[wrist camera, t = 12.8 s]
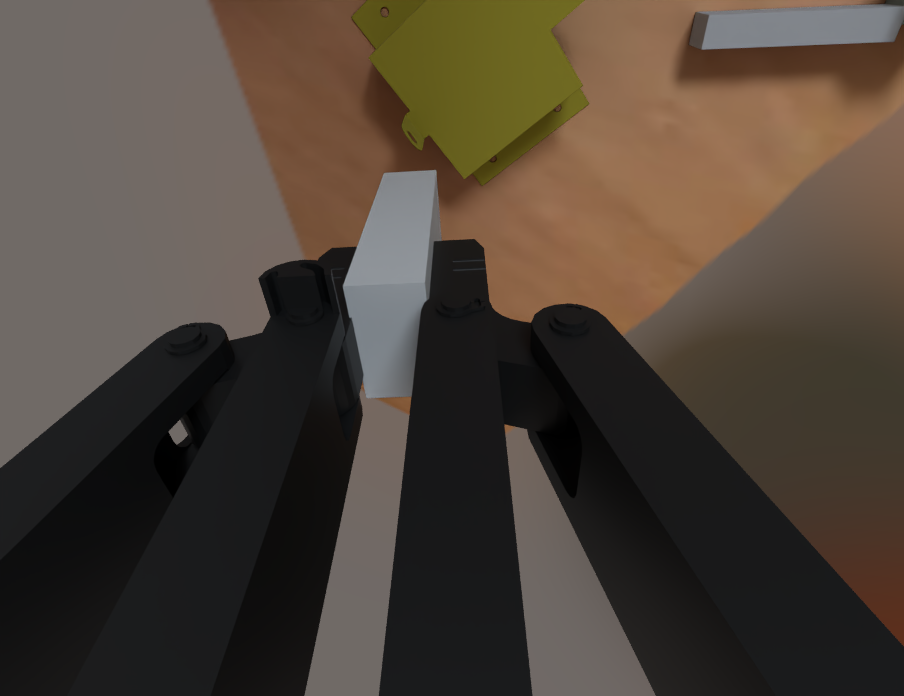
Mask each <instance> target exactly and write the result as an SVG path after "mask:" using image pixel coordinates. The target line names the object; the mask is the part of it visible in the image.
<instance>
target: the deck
mask: <svg viewBox="0 0 904 696" xmlns="http://www.w3.org/2000/svg"><path fill="white" fill-rule="evenodd" d="M901 25H904V0H886V2H885V4H871V5H848V6H825V7H801V8H778V9H755V10H732V11H708V12H696V14H695V18H694V23H693V28H692V32H691V37H690V41H689V45H690V46H693V47H696V48H698V49H701V50H703V49H728V48H752V47H777V46H801V45H826V44H850V43H874V42H894V41H895V39H896V36H897V34H898V32H899V29H900V27H901Z"/></svg>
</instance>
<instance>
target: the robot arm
mask: <svg viewBox="0 0 904 696" xmlns="http://www.w3.org/2000/svg"><path fill="white" fill-rule="evenodd" d="M259 282H260V285H261V288H262V291H263V295H264V298H265V301H266V304H267V307H268V310H269V313H270V316H271V317H270V319H269V321H268V323H267V325H266V327H265V329H264V331H263V332H262V333H259V334H256V335H252V336H248V337H244V338H239V339H235V340H230V341H229V340H228V337H227V334H226V332H225V330H224V329H223V328H222V327H221V326H220V325H217V324H213V323H190V324H189V325H188V324H186V325H182V326H179V327H178V328H176V329H174V330H171V331H169V332H167V333H165V334H164V335H163V336H161V337H159V338H158V339H156V340H155V341H154V342H153V343H151V344H150V345H149V346H148V347H146V348H145V349H144V350H143V351H142V352H140V353H139V354H138V355H137V356H136V357H134V358H133V359H132V360H131V361H130V362H128V363H127V364H126V365H125V366H123V367H122V368H121V369H120V370H119V371H118V372H116V373H115V374H114V375H113V376H111V377H110V378H109V379H108V380H107V381H105V382H104V383H103V384H102V385H100V386H99V387H98V388H97V389H96V390H94V391H93V392H92V393H91V394H90V395H88V396H87V397H86V398H85V399H84V400H82V401H81V402H80V403H79V404H77V405H76V406H75V407H74V408H73V409H71V410H70V411H69V412H68V413H67V414H65V415H64V416H63V417H62V418H61V419H59V420H58V421H57V422H56V423H54V424H53V425H52V426H51V427H50V428H49V429H47V430H46V431H45V432H44V433H43V434H41V435H40V436H39V437H38V438H36V439H35V440H34V441H33V442H32V443H30V444H29V445H28V446H27V447H25V448H24V449H23V450H22V451H21V452H19V453H18V454H17V455H16V456H15V457H14V458H12V459H11V460H10V461H9V462H7V463H6V464H5V465H4V466H3V467H1V468H0V696H304V695H305V690H306V685H307V681H308V676H309V671H310V665H311V661H312V657H313V652H314V647H315V642H316V637H317V633H318V628H319V623H320V618H321V613H322V608H323V603H324V599H325V594H326V589H327V584H328V580H329V575H330V570H331V565H332V560H333V556H334V551H335V546H336V541H337V536H338V531H339V527H340V522H341V517H342V512H343V508H344V503H345V498H346V492H347V488H348V483H349V479H350V474H351V469H352V464H353V460H354V455H355V450H356V445H357V440H358V436H359V431H360V426H361V421H362V416H363V413H362V405H361V401H360V396H359V393H360V389H361V385H362V380H363V384H364V389H365V393H366V398H384V397H410V396H412V397H411V407H410V416H409V425H408V434H407V443H406V452H405V462H404V472H403V480H402V490H401V498H400V508H399V516H398V517H399V518H398V525H397V535H396V544H395V553H394V562H393V571H392V580H391V589H390V598H389V609H388V617H387V626H386V636H385V645H384V653H383V662H382V672H381V681H380V691H379V696H532V689H531V688H532V687H531V678H530V668H529V658H528V650H527V639H526V630H525V621H524V610H523V601H522V591H521V582H520V572H519V562H518V553H517V543H516V533H515V524H514V514H513V504H512V495H511V486H510V476H509V466H508V456H507V447H506V437H505V427H504V424H506V425H510V426H515V427H520V428H524V429H527V431H528V436H529V439H530V441H531V443H532V445H533V447H534V449H535V451H536V453H537V455H538V457H539V460H540V462H541V464H542V465H543V468H544V470H545V472H546V474H547V476H548V478H549V480H550V481H551V484H552V486H553V488H554V490H555V492H556V494H557V496H558V498H559V500H560V502H561V504H562V506H563V508H564V510H565V512H566V514H567V516H568V518H569V520H570V522H571V524H572V526H573V528H574V530H575V533H576V534H577V537H578V539H579V541H580V543H581V545H582V547H583V549H584V551H585V553H586V555H587V557H588V559H589V561H590V563H591V565H592V567H593V569H594V571H595V573H596V575H597V577H598V579H599V581H600V583H601V585H602V587H603V589H604V591H605V593H606V595H607V597H608V599H609V601H610V604H611V606H612V608H613V610H614V612H615V614H616V616H617V617H618V619H619V622H620V624H621V626H622V627H623V630H624V632H625V634H626V636H627V638H628V640H629V642H630V644H631V646H632V648H633V650H634V652H635V654H636V656H637V658H638V660H639V662H640V664H641V666H642V668H643V670H644V672H645V674H646V676H647V678H648V681H649V683H650V685H651V687H652V689H653V691H654V693H655V695H656V696H904V646H903V645H902V644H901V643H900V642H899V641H898V640H897V639H896V638H895V636H893V634H892V633H891V632H890V631H889V630H888V629H887V628H886V627H885V625H884V624H883V623H882V622H881V621H880V620H879V619H878V618H877V617H876V615H875V614H874V613H873V612H872V611H871V610H870V609H869V608H868V607H867V606H866V604H865V603H864V602H863V601H862V600H861V599H860V598H859V597H858V596H857V595H856V593H855V592H854V591H853V590H852V589H851V588H850V587H849V586H848V585H847V583H846V582H845V581H844V580H843V579H842V578H841V577H840V576H839V575H838V574H837V572H836V571H835V570H834V569H833V568H832V567H831V566H830V565H829V564H828V562H827V561H826V560H825V559H824V558H823V557H822V556H821V555H820V554H819V553H818V551H817V550H816V549H815V548H814V547H813V546H812V545H811V544H810V543H809V541H808V540H807V539H806V538H805V537H804V536H803V535H802V534H801V533H800V532H799V530H798V529H797V528H796V527H795V526H794V525H793V524H792V523H791V522H790V520H789V519H788V518H787V517H786V516H785V515H784V514H783V513H782V512H781V511H780V509H779V508H778V507H777V506H776V505H775V504H774V503H773V502H772V501H771V500H770V498H769V497H767V495H766V494H765V493H764V492H763V491H762V490H761V488H760V487H759V486H758V485H757V484H756V483H755V482H754V481H753V480H752V479H751V478H750V476H749V475H748V474H747V473H746V472H745V471H744V470H743V469H742V468H741V466H740V465H739V464H738V463H737V462H736V461H735V460H734V459H733V458H732V457H731V455H730V454H729V453H728V452H727V451H726V450H725V449H724V448H723V447H722V445H721V444H720V443H719V442H718V441H717V440H716V439H715V438H714V437H713V435H712V434H711V433H710V432H709V431H708V430H707V429H706V428H705V427H704V426H703V425H702V423H701V422H700V421H699V420H698V419H697V418H696V417H695V416H694V415H693V413H692V412H691V411H690V410H689V409H688V408H687V407H686V406H685V405H684V403H683V402H682V401H681V400H680V399H679V398H678V397H677V396H676V395H675V393H674V392H673V391H672V390H671V389H670V388H669V387H668V386H667V385H666V384H665V382H664V381H663V380H662V379H661V378H660V377H659V376H658V375H657V374H656V373H655V371H654V370H653V369H652V368H651V367H650V366H649V365H648V364H647V363H646V362H645V360H644V359H643V358H642V357H641V356H640V355H639V354H638V353H637V352H636V350H635V349H634V348H633V347H632V346H631V345H630V344H629V343H628V342H627V341H626V339H625V338H624V337H623V336H622V335H621V334H620V333H619V332H618V331H617V329H616V328H615V327H614V326H613V325H612V324H611V323H610V322H609V321H608V319H607V318H606V317H604V316H603V315H602V314H600V313H599V312H598V311H596V310H594V309H591V308H588V307H586V306H582V305H578V304H558V305H553V306H549V307H546V308H543V309H542V310H540V311H539V312H538V313H536V314H535V315H534V318H533V320H532V322H531V323H529V322H522V321H517V320H513V319H509V318H507V317H504V316H502V315H501V314H499V313H497V312H496V311H495V310H494V309H493V308H492V305H491V303H490V301H489V294H488V284H487V274H486V264H485V255H484V248H483V247H482V246H481V245H480V244H479V243H478V242H477V241H476V240H475V239H467V240H448V241H442V240H441V226H440V213H439V200H438V187H437V173H436V170H427V171H410V172H392V173H384V175H383V177H382V180H381V183H380V186H379V188H378V191H377V194H376V197H375V199H374V202H373V205H372V208H371V210H370V213H369V216H368V219H367V221H366V224H365V227H364V230H363V232H362V235H361V238H360V241H359V243H358V246H357V247H342V248H331V249H330V250H329V251H327V252H326V253H325V254H323V255H322V256H321V257H320V258H319V259H318V261H317V260H299V261H291V262H287V263H284V264H280V265H277V266H275V267H273V268H271V269H269V270H267V271H265V272H264V273H263V274H262V275H261V276H260V277H259ZM179 420H181V422H182V424H183V426H184V427H185V430H186V432H187V434H188V436H187V437H186V438H185V439H184V440H183V441H182V442H180V443H179V444H178V445H176V444H175V443H174V442H173V440H172V438H171V436H170V434H169V432H168V431H169V430H170V429H171V428H172V427H173V426H174V425H175V424H176V423H177V422H178V421H179Z"/></svg>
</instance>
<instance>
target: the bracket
mask: <svg viewBox="0 0 904 696" xmlns="http://www.w3.org/2000/svg"><path fill="white" fill-rule="evenodd" d="M583 1H584V0H367V1H366V2H365V3H364V4H363V5H362V6H361V8H360V9H359V10H358V11H357V12H356V13H355V14H354V15H353V16H352V17H351V18H352V19H353V20H354V22H355V23H356V24H357V26H358V27H359V28H360V29H361V31H362V32H363V33H364V35H365V36H366V37H367V38H368V40H369V41H370V42H371V44H372V45H373V46H374V47H375V49H376V50H375V51H374V52H373V53H372V54H371V56H370V57H369V59H370V61H371V62H372V63H373V64H374V66H375V67H376V68H377V70H378V71H379V72H380V73H381V75H382V76H383V77H384V78H385V80H386V81H387V82H388V83H389V85H390V86H391V87H392V88H393V90H394V91H395V92H396V94H397V95H398V96H399V97H400V99H401V100H402V101H403V102H404V104H405V105H406V106H407V107H408V109H409V110H410V111H409V112H408V113H407V114H406V115H405V116H404V119H403V122H402V129H403V131H404V133H405V135H406V136H407V138H408V139H409V141H410V142H411V143H412V144H413V145H414V146H415V147H416V148H417V149H418V150H420V151H422V149H423V143H424V139H425V138H426V137H427V136H428V135H430V136H431V138H432V139H433V140H434V142H435V143H436V144H437V145H438V147H439V148H440V149H441V150H442V152H443V153H444V154H445V155H446V157H447V158H448V159H449V160H450V162H451V163H452V164H453V166H454V167H455V168H456V169H457V171H458V172H459V173H460V174H461V176H462V177H463V178H464V179H466V178H467V177H468V176H469V175H471V174H473V175H474V176H475V177H476V179H477V180H478V181H479V183H480V184H481V185H482V186H483V185H484V184H485V183H487V182H488V181H489V180H491V179H492V178H493V177H495V176H496V175H497V174H498V173H500V172H501V171H502V170H504V169H505V168H506V167H507V166H509V165H510V164H511V163H513V162H514V161H515V160H517V159H518V158H519V157H520V156H522V155H523V154H524V153H526V152H527V151H528V150H530V149H531V148H532V147H533V146H535V145H536V144H537V143H539V142H540V141H541V140H543V139H544V138H545V137H546V136H548V135H549V134H550V133H552V132H553V131H554V130H556V129H557V128H558V127H559V126H561V125H562V124H563V123H565V122H566V121H567V120H568V119H570V118H571V117H572V116H574V115H575V114H576V113H578V112H579V111H580V110H581V109H583V108H584V107H585V106H587V105H588V104H589V102H588V101H587V99H586V97H585V96H584V94H583V92H582V91H581V89H580V88H581V87H582V86H583V85H582V83H581V81H580V80H579V78H578V76H577V74H576V73H575V71H574V69H573V68H572V66H571V64H570V62H569V61H568V59H567V57H566V56H565V54H564V52H563V50H562V49H561V47H560V45H559V44H558V42H557V40H556V38H555V37H554V35H553V33H552V32H551V29H552V28H553V27H554V26H556V25H557V24H558V23H559V22H560V21H561V20H562V19H564V18H565V17H566V16H567V15H568V14H569V13H571V12H572V11H573V10H574V9H575V8H576V7H578V6H579V5H580V4H581V3H582V2H583ZM382 7H387V8H388V10H389V15H388V16H387V17H383V16H382V15H381V13H380V10H381V8H382ZM559 104H560V105H561V110H560V111H559V112H555V111H554V108H555V107H557V106H558V105H559ZM407 131H408V132H409V133H410V134H411V135H412V136H413V137H414V139H415V140H416V142H417V144H416V143H415V142H414V141H413V140H412V139H411V137H410V136H409V134H408V132H407ZM493 156H496V157H497V160H496V161H495V162H491V161H490V159H491V158H492V157H493Z"/></svg>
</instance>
